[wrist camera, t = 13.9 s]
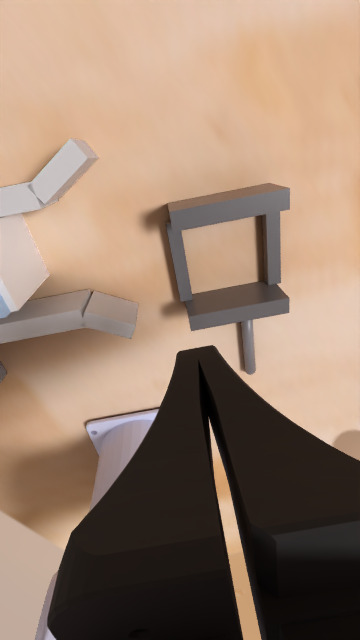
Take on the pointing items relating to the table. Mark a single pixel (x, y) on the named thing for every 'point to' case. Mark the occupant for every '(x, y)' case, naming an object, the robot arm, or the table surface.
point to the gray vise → (239, 299)
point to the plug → (18, 264)
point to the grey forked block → (71, 306)
